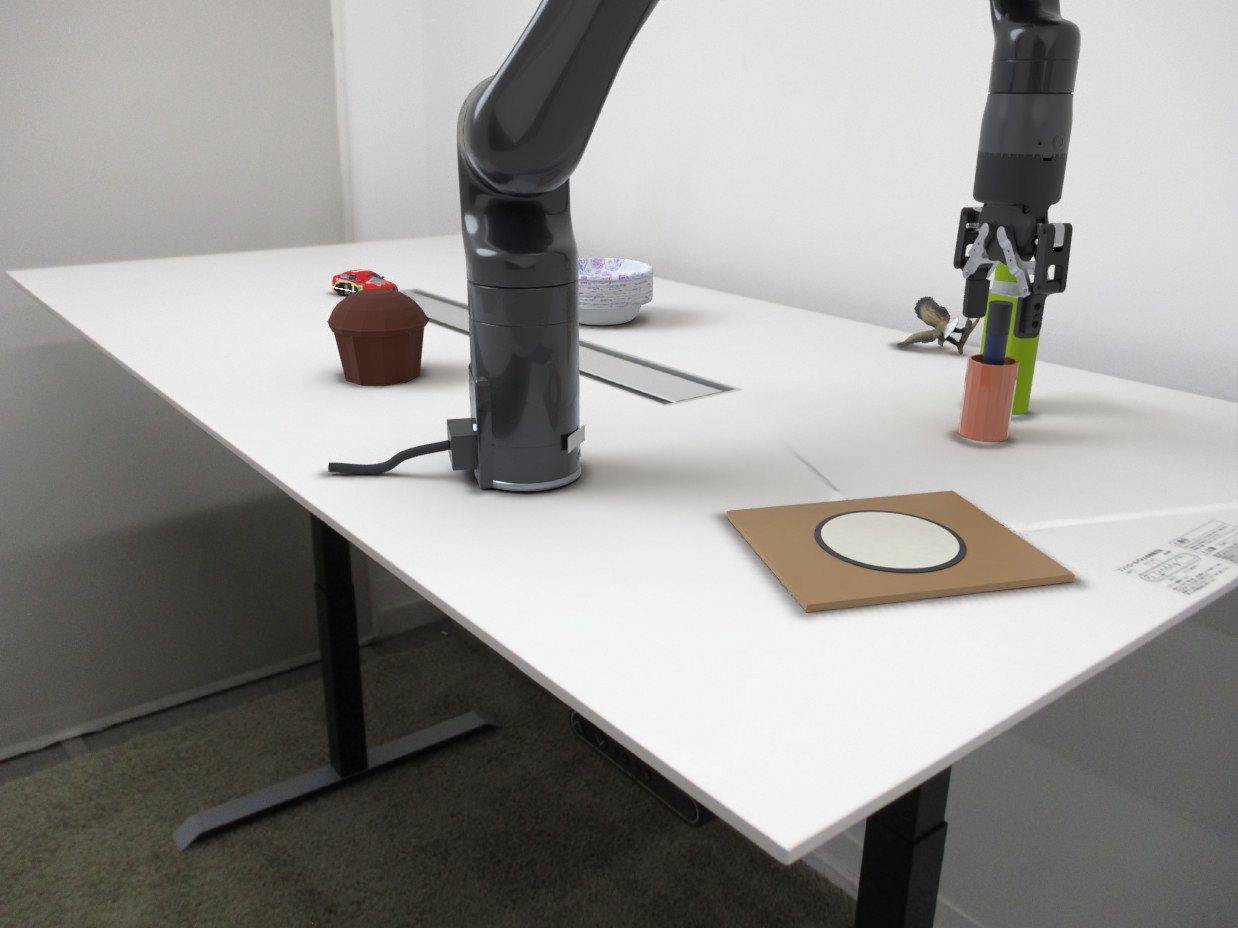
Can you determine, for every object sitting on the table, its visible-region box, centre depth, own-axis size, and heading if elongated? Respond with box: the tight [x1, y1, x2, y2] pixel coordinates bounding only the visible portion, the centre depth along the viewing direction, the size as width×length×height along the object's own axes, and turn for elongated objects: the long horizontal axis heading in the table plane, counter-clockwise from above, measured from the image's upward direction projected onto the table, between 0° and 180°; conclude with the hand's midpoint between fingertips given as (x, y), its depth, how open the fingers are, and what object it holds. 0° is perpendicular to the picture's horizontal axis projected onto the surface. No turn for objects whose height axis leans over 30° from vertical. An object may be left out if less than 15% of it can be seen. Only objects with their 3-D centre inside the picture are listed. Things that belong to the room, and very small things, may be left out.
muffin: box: [326, 288, 430, 386], centre depth 118 cm, size 12×11×10 cm
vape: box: [979, 263, 1041, 416], centre depth 104 cm, size 4×6×20 cm, turn 27°
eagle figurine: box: [896, 296, 981, 356], centre depth 132 cm, size 8×7×9 cm
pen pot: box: [957, 353, 1019, 443], centre depth 98 cm, size 5×5×8 cm
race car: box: [331, 269, 399, 296], centre depth 164 cm, size 13×5×4 cm, turn 50°
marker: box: [982, 300, 1013, 365], centre depth 97 cm, size 2×2×13 cm
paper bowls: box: [579, 257, 654, 326], centre depth 148 cm, size 15×15×8 cm
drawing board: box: [726, 490, 1075, 613], centre depth 75 cm, size 20×16×1 cm
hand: (998, 327), depth 95 cm, fingers open, 8 cm apart
